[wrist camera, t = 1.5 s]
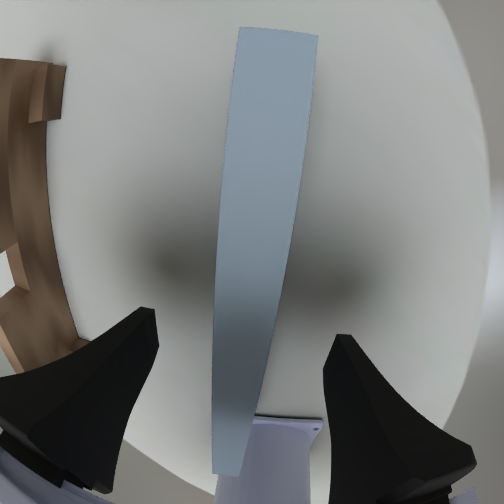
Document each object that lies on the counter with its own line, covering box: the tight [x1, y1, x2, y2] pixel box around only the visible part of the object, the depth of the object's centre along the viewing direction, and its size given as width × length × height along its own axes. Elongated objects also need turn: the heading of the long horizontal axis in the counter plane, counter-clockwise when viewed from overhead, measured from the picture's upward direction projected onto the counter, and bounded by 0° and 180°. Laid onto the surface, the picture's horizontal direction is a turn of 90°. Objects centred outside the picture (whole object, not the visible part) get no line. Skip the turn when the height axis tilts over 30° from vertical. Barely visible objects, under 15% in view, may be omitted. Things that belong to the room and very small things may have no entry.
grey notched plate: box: [212, 27, 318, 477], centre depth 11 cm, size 20×2×6 cm, turn 174°
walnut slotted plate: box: [0, 58, 90, 374], centre depth 11 cm, size 22×4×6 cm, turn 174°
